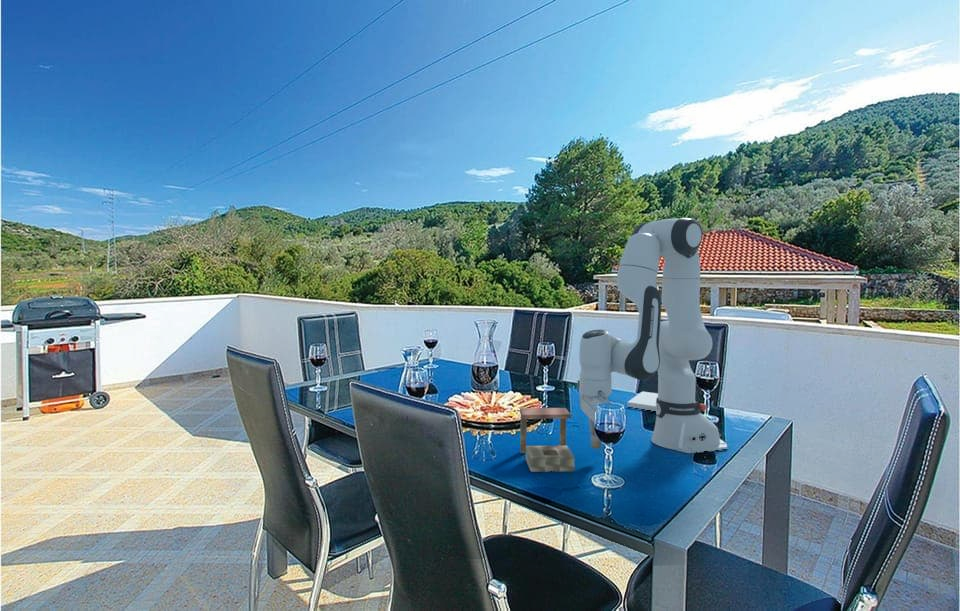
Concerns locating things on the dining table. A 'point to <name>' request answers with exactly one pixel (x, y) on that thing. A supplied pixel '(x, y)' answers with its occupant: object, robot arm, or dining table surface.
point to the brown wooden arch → (543, 414)
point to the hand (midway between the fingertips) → (596, 434)
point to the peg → (594, 438)
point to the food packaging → (644, 401)
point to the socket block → (549, 458)
